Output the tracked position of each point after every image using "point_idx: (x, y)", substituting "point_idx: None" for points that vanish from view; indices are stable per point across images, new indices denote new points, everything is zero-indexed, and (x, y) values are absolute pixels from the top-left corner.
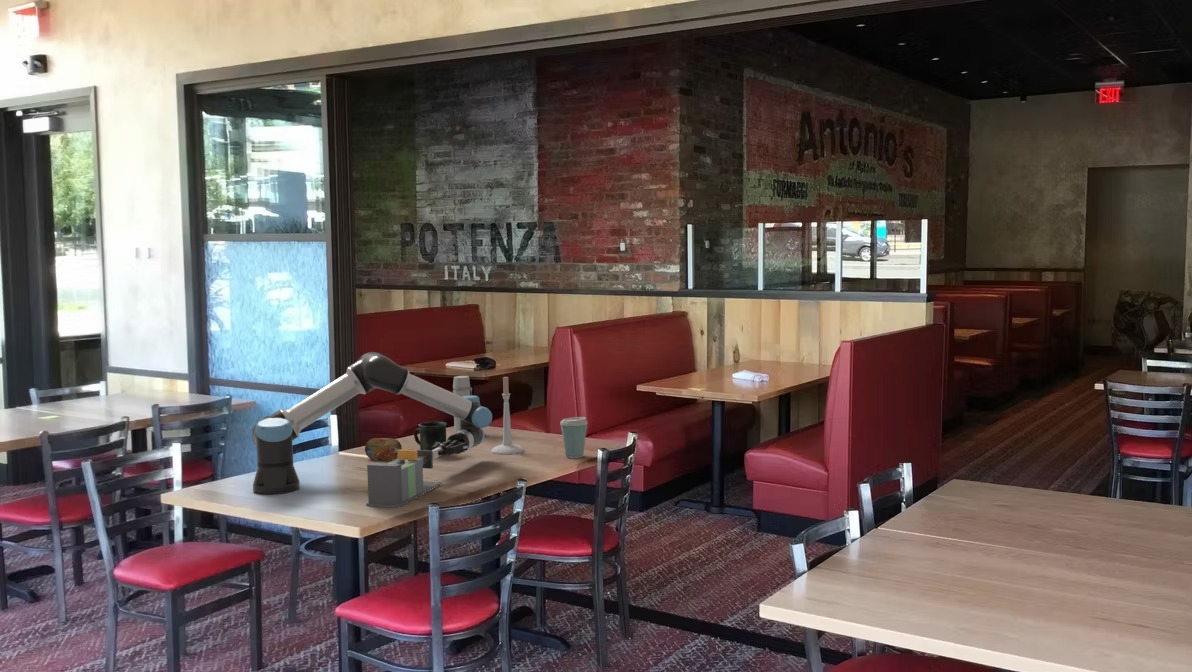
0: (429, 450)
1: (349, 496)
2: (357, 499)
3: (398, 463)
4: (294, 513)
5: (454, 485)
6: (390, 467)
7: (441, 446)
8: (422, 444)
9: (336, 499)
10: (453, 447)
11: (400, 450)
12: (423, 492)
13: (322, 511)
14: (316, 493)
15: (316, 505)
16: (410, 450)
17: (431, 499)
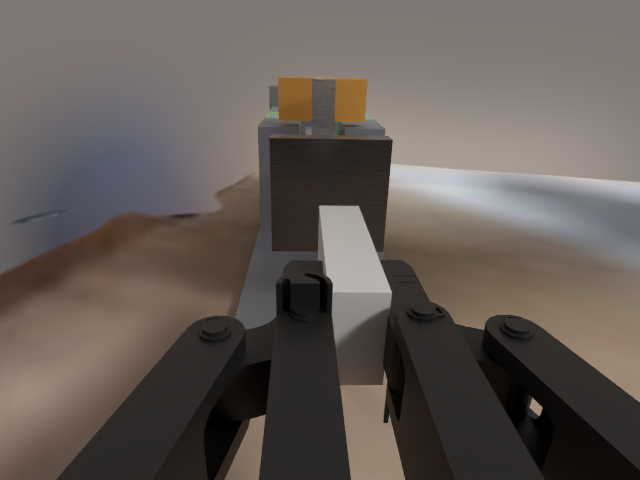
0: (288, 137)
1: (479, 225)
2: (427, 215)
3: (340, 126)
4: (457, 173)
5: (142, 358)
6: None
7: (419, 381)
8: None
9: (482, 211)
10: (149, 382)
11: (349, 78)
12: (254, 247)
13: (418, 179)
14: (607, 231)
15: (473, 191)
16: (305, 77)
17: (204, 230)
